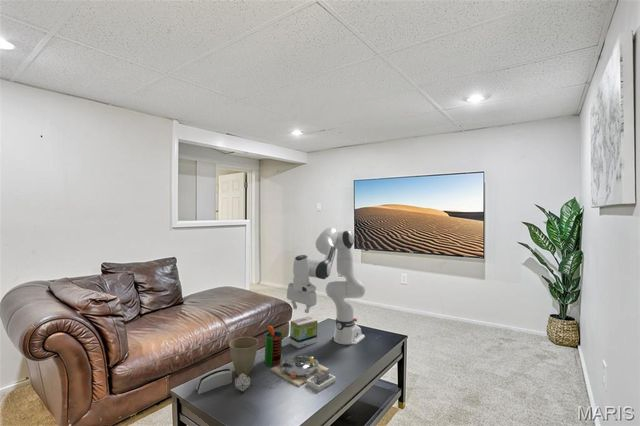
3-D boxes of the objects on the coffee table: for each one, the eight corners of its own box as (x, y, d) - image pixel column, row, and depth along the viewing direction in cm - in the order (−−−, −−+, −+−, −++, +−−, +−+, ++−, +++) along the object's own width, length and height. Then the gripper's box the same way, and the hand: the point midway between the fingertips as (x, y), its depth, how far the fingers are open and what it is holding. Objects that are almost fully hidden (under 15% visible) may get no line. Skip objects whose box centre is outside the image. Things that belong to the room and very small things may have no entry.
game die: (246, 397, 158) (258, 383, 156) (231, 398, 152) (243, 383, 150) (241, 381, 164) (252, 367, 162) (227, 380, 158) (238, 366, 157)
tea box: (299, 348, 203) (299, 325, 203) (289, 343, 211) (289, 320, 210) (317, 342, 213) (317, 319, 213) (307, 337, 221) (308, 315, 220)
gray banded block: (313, 383, 163) (314, 374, 163) (323, 377, 168) (323, 369, 168) (319, 386, 161) (319, 377, 160) (328, 380, 166) (328, 371, 166)
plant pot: (222, 375, 171) (223, 344, 170) (241, 363, 184) (241, 334, 184) (245, 382, 164) (246, 350, 164) (263, 369, 177) (263, 340, 177)
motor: (277, 367, 180) (277, 331, 179) (261, 365, 182) (262, 329, 181) (283, 358, 190) (283, 324, 189) (268, 357, 192) (268, 323, 191)
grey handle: (227, 378, 168) (230, 362, 165) (231, 385, 165) (234, 369, 162) (194, 389, 157) (197, 372, 154) (198, 397, 154) (200, 380, 151)
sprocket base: (300, 357, 192) (300, 355, 192) (328, 370, 177) (328, 368, 177) (270, 370, 176) (270, 368, 176) (299, 386, 161) (299, 384, 161)
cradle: (323, 375, 172) (323, 370, 172) (335, 381, 166) (335, 376, 166) (306, 384, 163) (306, 379, 163) (318, 391, 157) (318, 386, 157)
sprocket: (324, 362, 184) (324, 349, 183) (312, 381, 163) (312, 367, 163) (288, 356, 190) (289, 344, 189) (273, 374, 169) (273, 361, 169)
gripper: (284, 283, 184) (284, 307, 185) (310, 289, 170) (309, 316, 171) (292, 281, 189) (292, 305, 189) (318, 287, 175) (318, 313, 175)
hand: (300, 310), depth 180 cm, fingers open, 8 cm apart
